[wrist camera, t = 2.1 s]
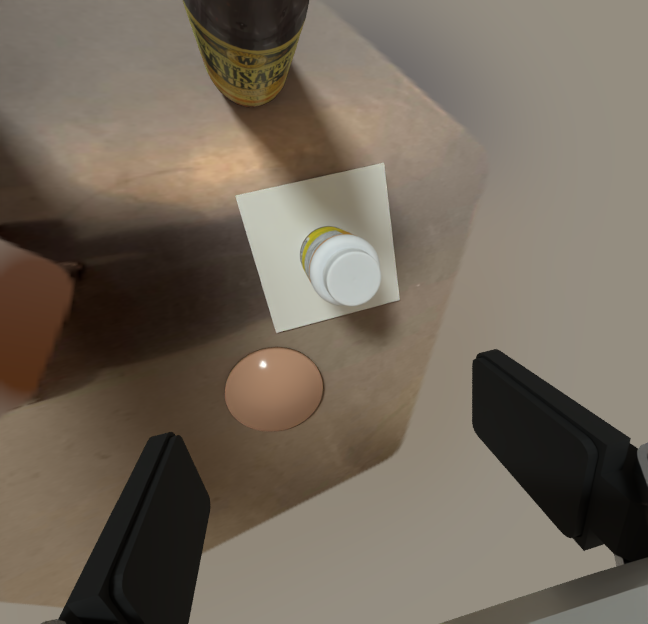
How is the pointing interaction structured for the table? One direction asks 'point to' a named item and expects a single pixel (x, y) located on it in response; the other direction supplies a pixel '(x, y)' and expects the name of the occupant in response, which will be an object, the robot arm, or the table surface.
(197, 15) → the sauce bottle
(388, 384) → the table surface
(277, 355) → the peach domed disc
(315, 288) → the supplement bottle
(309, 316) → the white flat square slab
